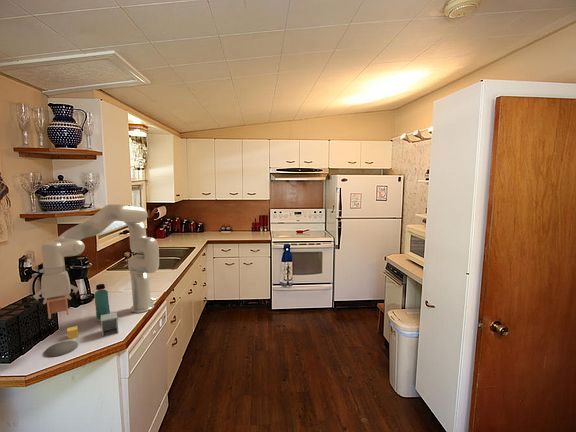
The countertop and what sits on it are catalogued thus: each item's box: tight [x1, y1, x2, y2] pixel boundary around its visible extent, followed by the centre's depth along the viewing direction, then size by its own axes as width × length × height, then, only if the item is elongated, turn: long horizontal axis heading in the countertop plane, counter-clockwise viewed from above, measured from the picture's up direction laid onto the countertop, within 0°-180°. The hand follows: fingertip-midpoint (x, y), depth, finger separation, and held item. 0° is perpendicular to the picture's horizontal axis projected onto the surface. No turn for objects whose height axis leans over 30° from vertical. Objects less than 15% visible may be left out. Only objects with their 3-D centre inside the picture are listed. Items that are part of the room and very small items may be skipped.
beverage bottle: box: [94, 283, 111, 321], centre depth 168 cm, size 6×7×20 cm
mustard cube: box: [66, 325, 79, 340], centre depth 153 cm, size 4×4×4 cm
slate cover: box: [100, 312, 119, 337], centre depth 157 cm, size 7×7×8 cm
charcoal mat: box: [44, 340, 79, 358], centre depth 141 cm, size 12×12×1 cm
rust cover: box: [47, 295, 70, 320], centre depth 140 cm, size 7×7×8 cm
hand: (58, 309), depth 140 cm, fingers closed on rust cover, 7 cm apart
